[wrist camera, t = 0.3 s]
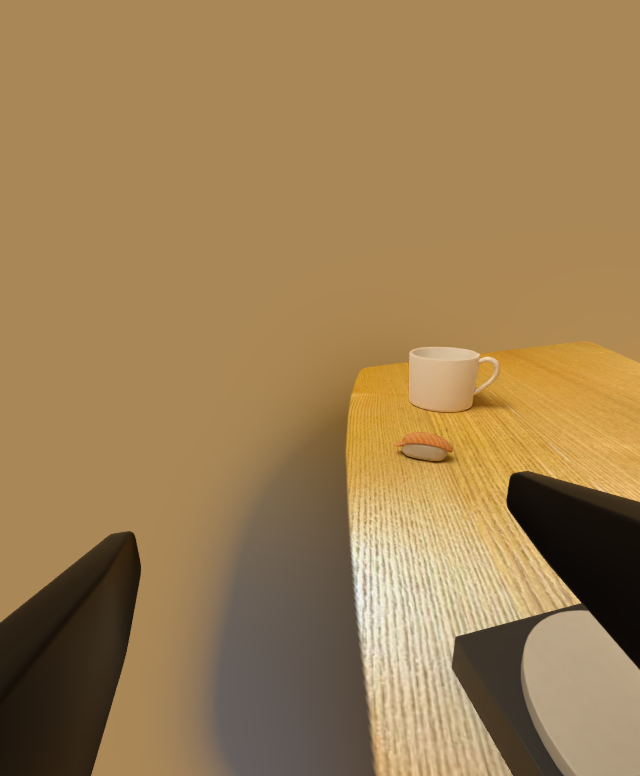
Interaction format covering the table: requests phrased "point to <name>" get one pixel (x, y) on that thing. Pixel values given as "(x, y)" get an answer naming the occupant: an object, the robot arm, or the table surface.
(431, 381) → the mug
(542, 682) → the scale
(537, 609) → the table surface
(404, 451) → the sushi
